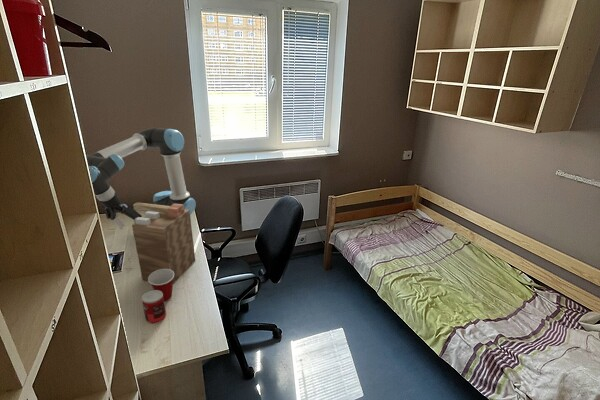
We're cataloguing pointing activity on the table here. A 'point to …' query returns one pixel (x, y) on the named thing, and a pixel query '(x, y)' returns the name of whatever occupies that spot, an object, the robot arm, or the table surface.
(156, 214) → the twin white cubes
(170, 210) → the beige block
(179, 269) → the wooden tower
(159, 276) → the plastic cup
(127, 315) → the table surface
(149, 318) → the canned food
